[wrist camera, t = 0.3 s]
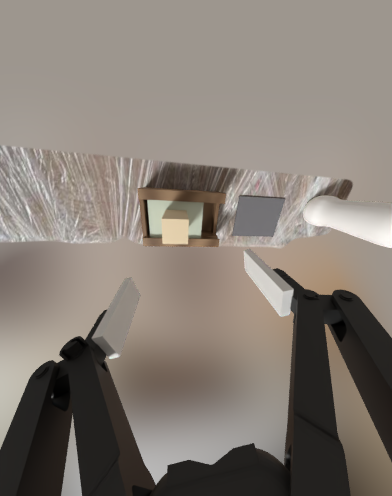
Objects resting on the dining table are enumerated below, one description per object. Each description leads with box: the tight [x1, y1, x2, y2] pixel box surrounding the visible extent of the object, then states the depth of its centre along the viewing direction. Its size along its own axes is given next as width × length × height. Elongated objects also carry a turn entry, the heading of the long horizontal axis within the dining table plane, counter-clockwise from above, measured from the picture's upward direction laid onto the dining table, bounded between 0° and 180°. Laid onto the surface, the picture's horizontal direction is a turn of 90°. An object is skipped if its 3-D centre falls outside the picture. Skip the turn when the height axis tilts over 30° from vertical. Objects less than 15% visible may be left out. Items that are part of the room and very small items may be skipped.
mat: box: [232, 196, 285, 237], centre depth 40 cm, size 13×11×1 cm
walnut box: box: [137, 187, 226, 247], centre depth 34 cm, size 18×12×7 cm
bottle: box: [303, 195, 392, 248], centre depth 27 cm, size 8×8×30 cm
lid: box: [147, 200, 204, 244], centre depth 28 cm, size 12×10×10 cm
